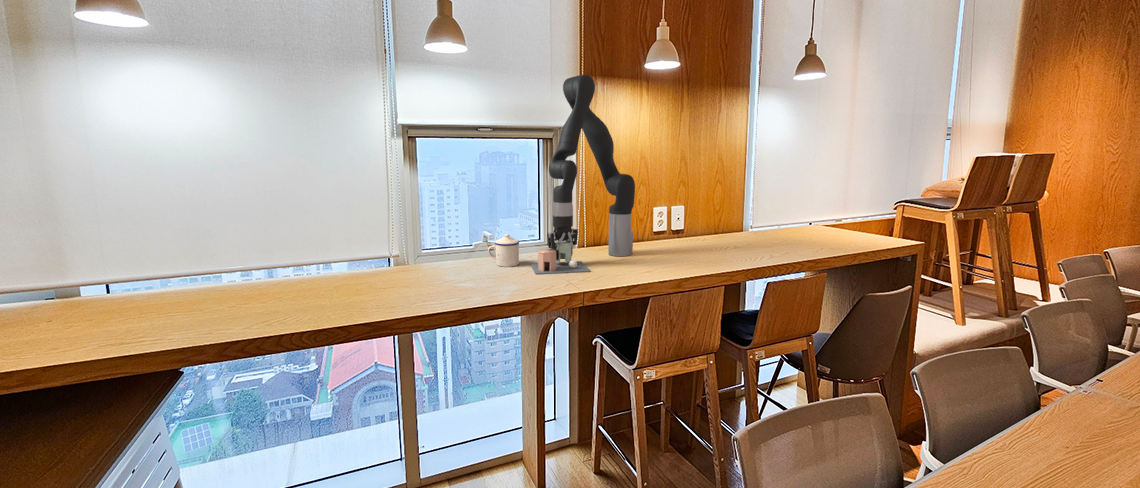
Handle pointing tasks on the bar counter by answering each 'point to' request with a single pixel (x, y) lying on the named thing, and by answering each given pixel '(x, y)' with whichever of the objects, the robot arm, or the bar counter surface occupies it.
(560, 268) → the slate mat
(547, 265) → the terracotta cup
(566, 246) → the green piece
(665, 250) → the bar counter surface
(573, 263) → the ivory ball
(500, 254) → the teacup with lid
